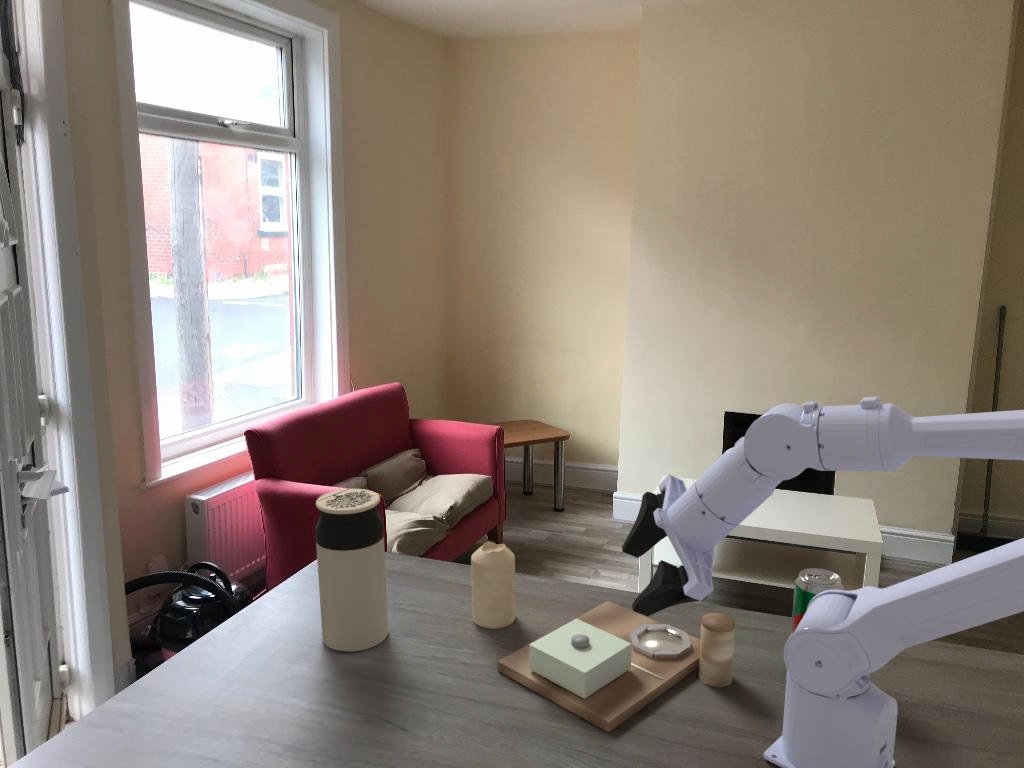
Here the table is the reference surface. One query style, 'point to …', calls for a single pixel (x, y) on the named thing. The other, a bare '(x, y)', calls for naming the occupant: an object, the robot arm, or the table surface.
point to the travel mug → (351, 570)
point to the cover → (580, 657)
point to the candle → (493, 586)
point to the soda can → (811, 590)
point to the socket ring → (660, 641)
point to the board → (623, 691)
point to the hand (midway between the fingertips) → (634, 580)
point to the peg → (716, 649)
